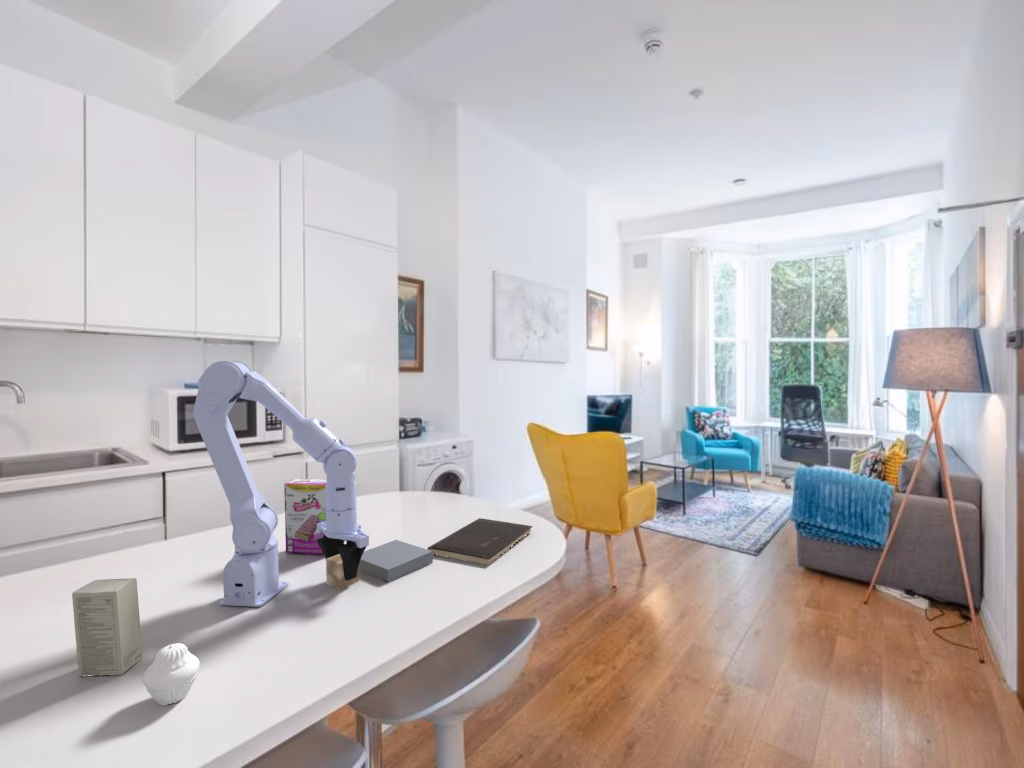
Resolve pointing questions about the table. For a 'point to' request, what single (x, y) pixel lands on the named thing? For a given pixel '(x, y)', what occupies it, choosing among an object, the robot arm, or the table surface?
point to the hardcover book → (481, 540)
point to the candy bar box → (304, 515)
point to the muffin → (171, 674)
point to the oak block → (337, 573)
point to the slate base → (394, 560)
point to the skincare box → (107, 626)
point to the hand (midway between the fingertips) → (342, 575)
